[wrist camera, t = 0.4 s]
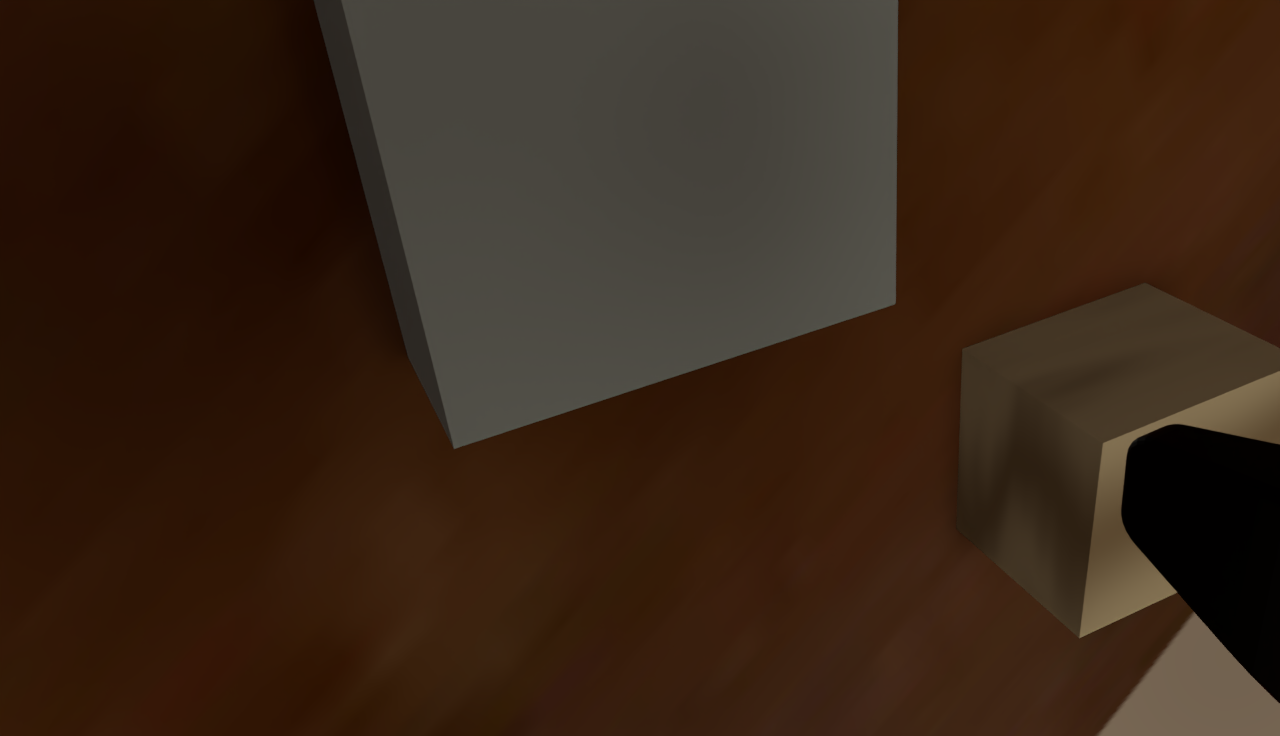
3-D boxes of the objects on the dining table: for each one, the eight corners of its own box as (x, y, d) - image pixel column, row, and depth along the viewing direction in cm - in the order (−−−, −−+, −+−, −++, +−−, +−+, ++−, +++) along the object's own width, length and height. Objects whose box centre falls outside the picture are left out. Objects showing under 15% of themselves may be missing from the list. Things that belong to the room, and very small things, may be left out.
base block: (792, 234, 24) (895, 304, 21) (404, 350, 22) (454, 448, 19) (771, -214, 20) (899, -213, 17) (276, -134, 17) (312, -114, 14)
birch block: (1118, 457, 33) (1260, 553, 29) (953, 526, 31) (1079, 637, 27) (1142, 281, 30) (1304, 360, 25) (959, 347, 28) (1102, 442, 24)
